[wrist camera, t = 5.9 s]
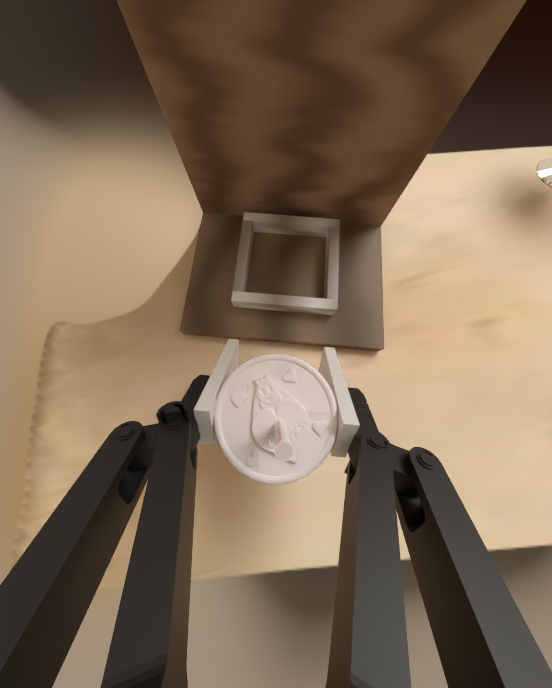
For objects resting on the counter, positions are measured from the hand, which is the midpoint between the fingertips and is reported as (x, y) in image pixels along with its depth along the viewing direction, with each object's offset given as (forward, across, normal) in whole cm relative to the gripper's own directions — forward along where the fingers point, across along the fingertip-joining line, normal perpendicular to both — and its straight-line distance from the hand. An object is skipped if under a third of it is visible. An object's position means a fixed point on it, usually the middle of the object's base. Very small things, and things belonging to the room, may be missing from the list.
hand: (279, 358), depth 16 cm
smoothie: (+1, 0, -6) cm, 6 cm away
